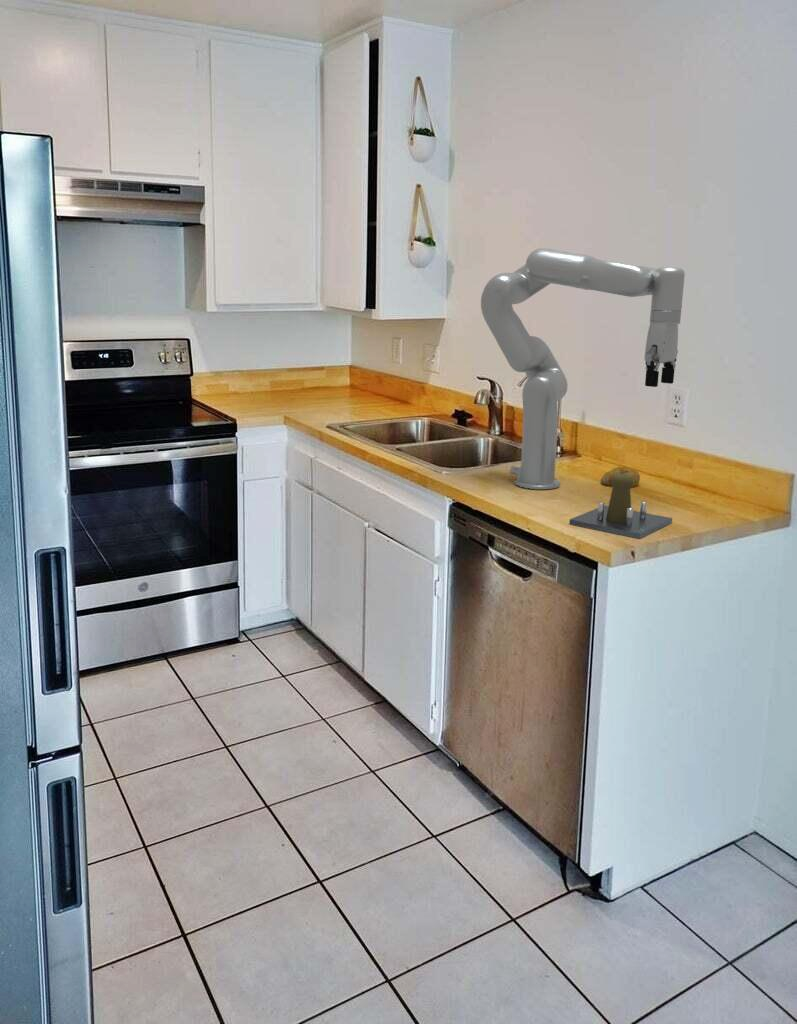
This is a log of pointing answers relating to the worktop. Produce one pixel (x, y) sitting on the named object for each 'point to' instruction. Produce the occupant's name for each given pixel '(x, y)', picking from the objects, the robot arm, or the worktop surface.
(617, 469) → the bagel
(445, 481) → the worktop surface
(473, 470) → the worktop surface
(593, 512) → the pin plate
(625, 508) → the olive tapered piece
